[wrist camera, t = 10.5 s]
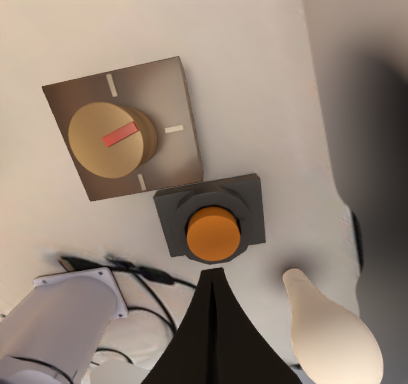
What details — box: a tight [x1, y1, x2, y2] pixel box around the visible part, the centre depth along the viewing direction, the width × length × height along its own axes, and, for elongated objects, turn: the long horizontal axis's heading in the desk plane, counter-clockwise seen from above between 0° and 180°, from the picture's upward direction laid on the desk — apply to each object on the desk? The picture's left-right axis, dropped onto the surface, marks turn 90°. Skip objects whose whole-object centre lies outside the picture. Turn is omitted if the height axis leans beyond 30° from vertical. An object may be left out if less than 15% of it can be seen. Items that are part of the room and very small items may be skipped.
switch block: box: [153, 174, 266, 265], centre depth 19 cm, size 10×7×4 cm
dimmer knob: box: [68, 102, 157, 178], centre depth 13 cm, size 4×4×4 cm
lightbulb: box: [283, 269, 383, 384], centre depth 18 cm, size 6×6×11 cm
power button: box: [187, 207, 240, 261], centre depth 17 cm, size 4×4×2 cm
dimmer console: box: [42, 56, 204, 201], centre depth 16 cm, size 10×9×3 cm
